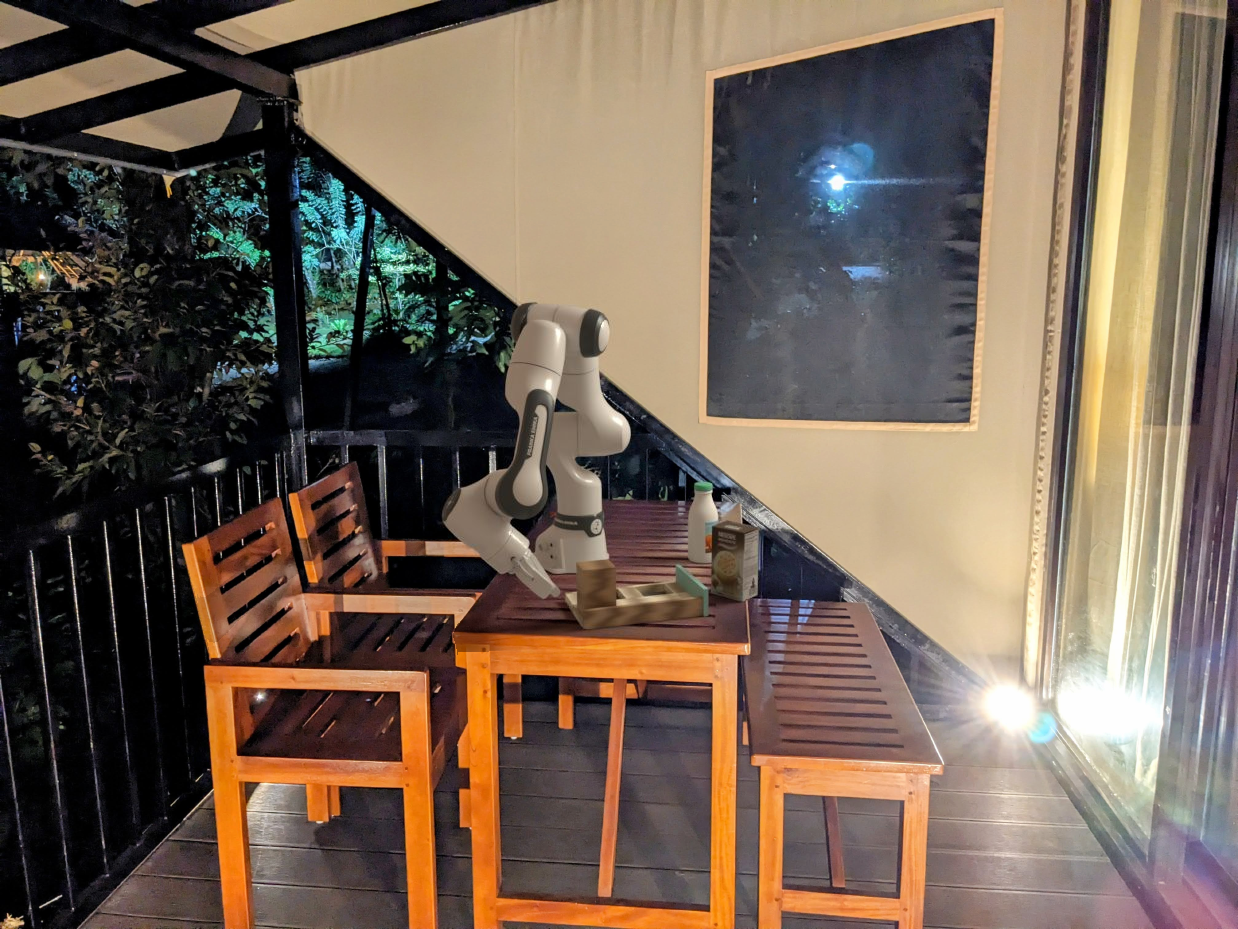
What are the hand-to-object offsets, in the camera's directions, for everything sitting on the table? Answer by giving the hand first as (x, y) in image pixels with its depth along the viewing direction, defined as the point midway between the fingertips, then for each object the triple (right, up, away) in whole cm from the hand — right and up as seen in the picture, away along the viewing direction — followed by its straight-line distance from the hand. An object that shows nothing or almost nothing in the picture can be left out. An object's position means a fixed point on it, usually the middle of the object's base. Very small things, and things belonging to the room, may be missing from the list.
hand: (557, 593), depth 188 cm
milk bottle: (+34, +2, +44) cm, 56 cm away
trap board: (+16, -5, +10) cm, 19 cm away
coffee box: (+39, -3, +18) cm, 43 cm away
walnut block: (+8, -4, +3) cm, 10 cm away
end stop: (+29, -4, +13) cm, 32 cm away
